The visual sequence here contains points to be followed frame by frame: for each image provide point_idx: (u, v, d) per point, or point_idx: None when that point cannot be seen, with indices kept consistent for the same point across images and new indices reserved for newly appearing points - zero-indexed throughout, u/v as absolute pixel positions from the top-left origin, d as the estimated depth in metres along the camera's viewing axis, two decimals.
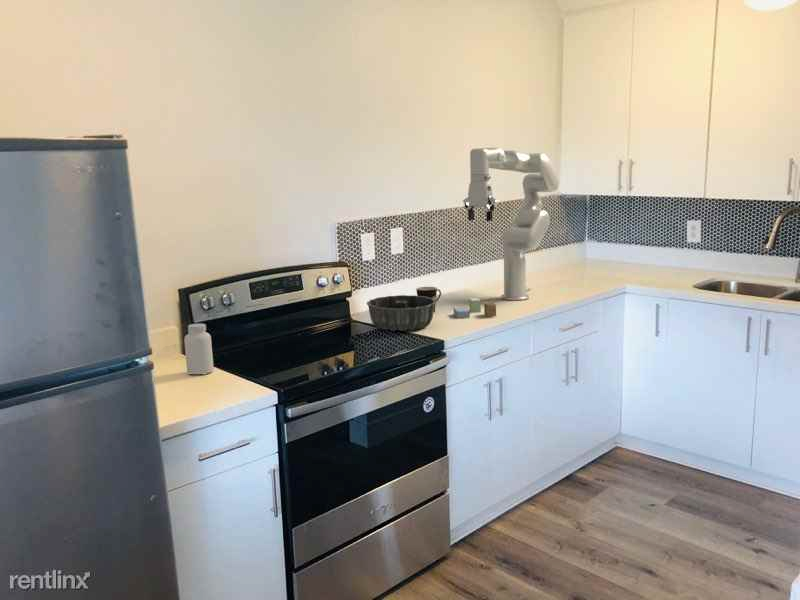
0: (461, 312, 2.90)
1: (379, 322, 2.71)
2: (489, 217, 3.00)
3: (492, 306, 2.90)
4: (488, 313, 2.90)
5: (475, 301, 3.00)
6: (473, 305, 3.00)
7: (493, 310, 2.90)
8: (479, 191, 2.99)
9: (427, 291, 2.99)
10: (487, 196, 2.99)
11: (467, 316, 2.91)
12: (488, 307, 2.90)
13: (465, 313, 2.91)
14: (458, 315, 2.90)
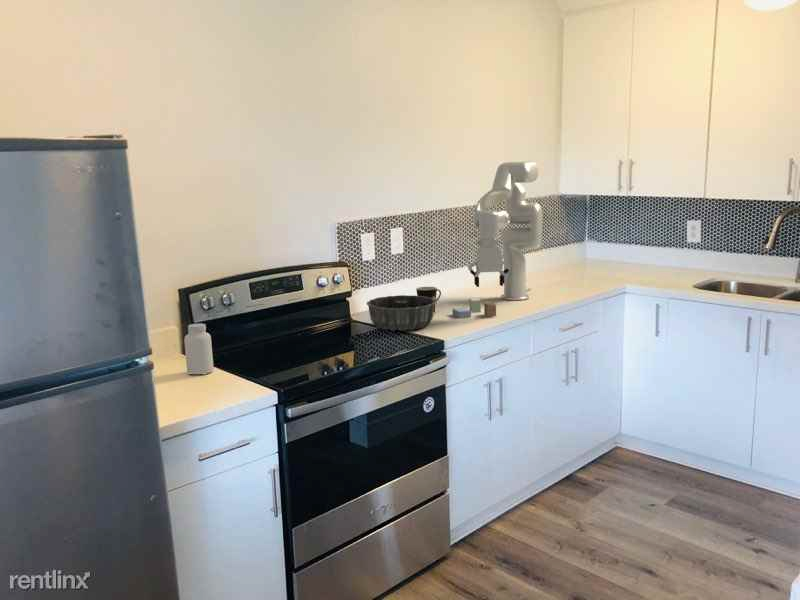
0: (463, 312, 2.90)
1: (379, 322, 2.71)
2: None
3: (492, 306, 2.90)
4: (488, 313, 2.90)
5: (475, 301, 3.00)
6: (473, 305, 3.00)
7: (493, 310, 2.90)
8: None
9: (427, 291, 2.99)
10: (476, 261, 2.90)
11: (468, 316, 2.91)
12: (488, 307, 2.90)
13: (467, 313, 2.91)
14: (460, 315, 2.90)
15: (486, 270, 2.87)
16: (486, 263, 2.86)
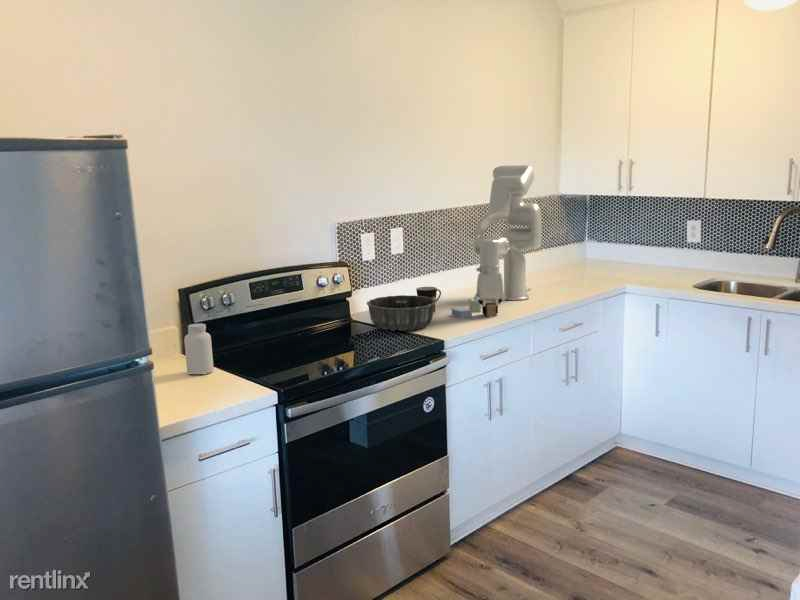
0: (464, 312, 2.90)
1: (379, 322, 2.71)
2: None
3: (492, 306, 2.90)
4: (488, 313, 2.90)
5: (475, 301, 3.00)
6: (473, 305, 3.00)
7: (493, 310, 2.90)
8: None
9: (427, 291, 2.99)
10: (477, 287, 2.92)
11: (469, 316, 2.92)
12: (488, 307, 2.90)
13: (468, 312, 2.91)
14: (461, 315, 2.90)
15: (487, 297, 2.89)
16: (487, 290, 2.89)
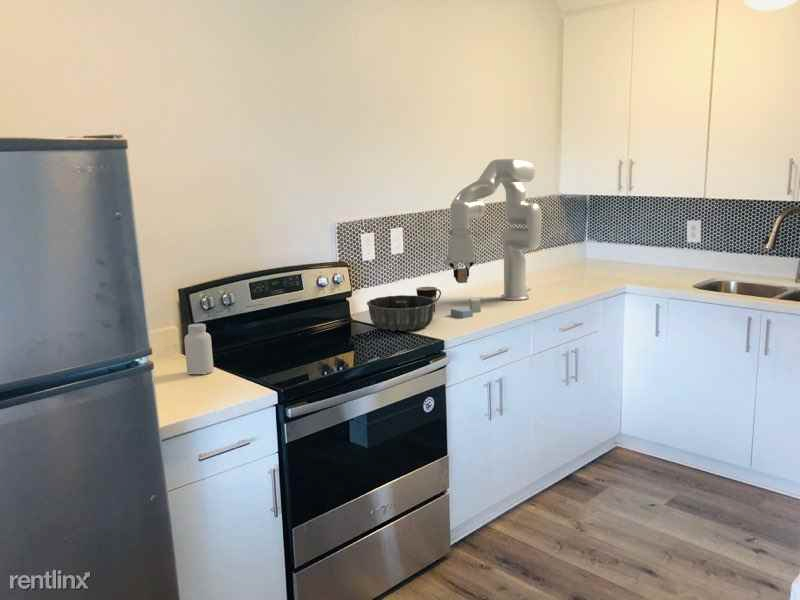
0: (466, 312, 2.91)
1: (379, 322, 2.71)
2: None
3: (463, 271, 2.88)
4: (459, 278, 2.89)
5: (475, 301, 3.00)
6: (473, 305, 3.00)
7: (464, 275, 2.89)
8: None
9: (427, 291, 2.99)
10: (448, 250, 2.91)
11: (470, 316, 2.92)
12: (459, 272, 2.88)
13: (469, 312, 2.92)
14: (463, 315, 2.90)
15: (458, 260, 2.88)
16: (457, 253, 2.87)
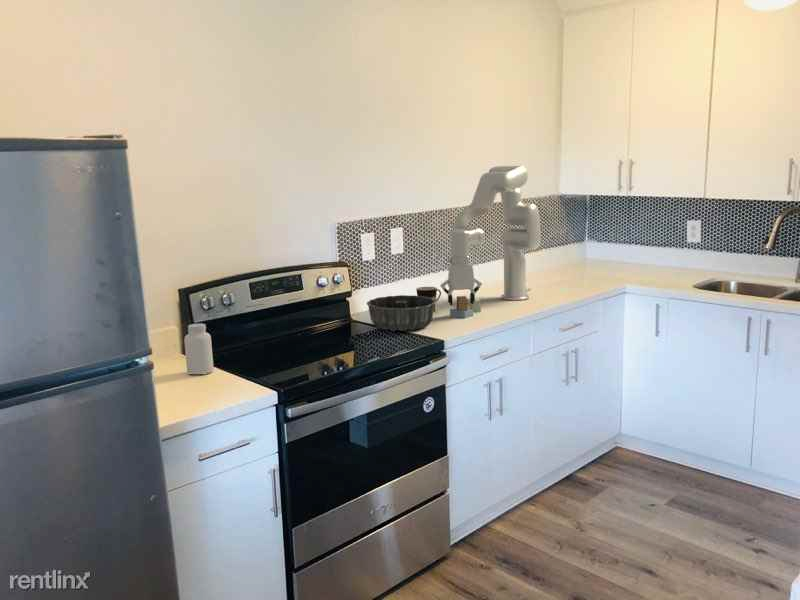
0: (467, 312, 2.91)
1: (379, 322, 2.71)
2: None
3: (464, 300, 2.91)
4: (459, 307, 2.91)
5: (475, 301, 3.00)
6: (473, 305, 3.00)
7: (465, 304, 2.91)
8: None
9: (427, 291, 2.99)
10: (448, 278, 2.93)
11: (471, 316, 2.93)
12: (460, 301, 2.91)
13: (470, 312, 2.92)
14: (465, 315, 2.90)
15: (458, 287, 2.90)
16: (457, 281, 2.89)
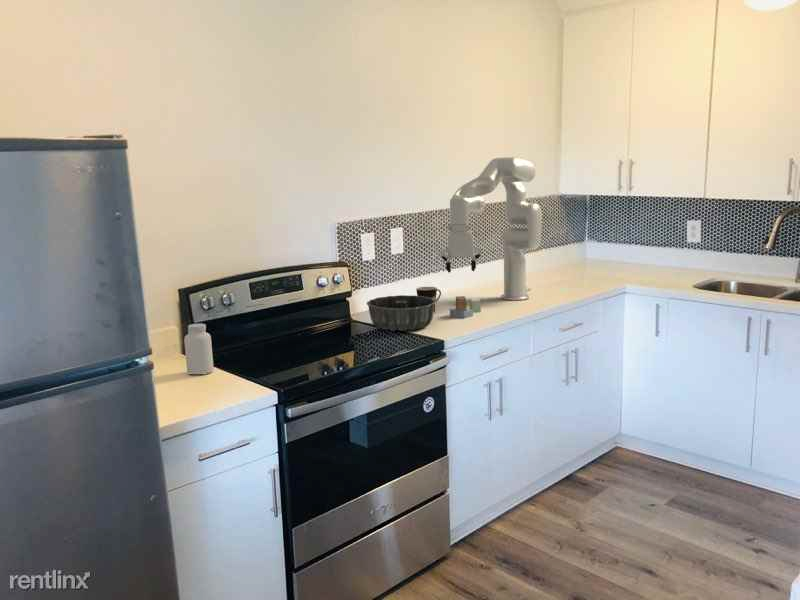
0: (467, 312, 2.91)
1: (379, 322, 2.71)
2: None
3: (462, 300, 2.90)
4: (458, 307, 2.91)
5: (475, 301, 3.00)
6: (473, 305, 3.00)
7: (463, 304, 2.91)
8: None
9: (427, 291, 2.99)
10: None
11: (471, 316, 2.93)
12: (458, 301, 2.90)
13: (470, 312, 2.92)
14: (465, 315, 2.90)
15: (457, 255, 2.87)
16: (457, 249, 2.87)
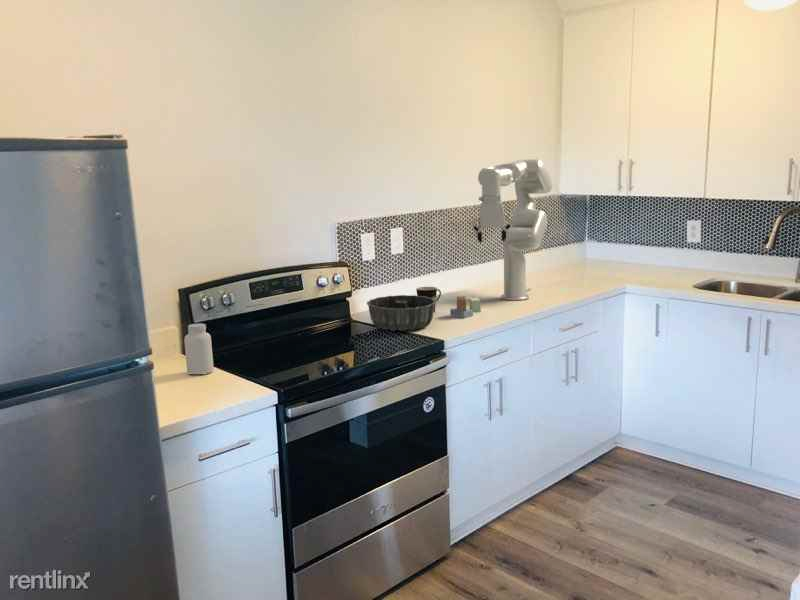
0: (467, 312, 2.91)
1: (379, 322, 2.71)
2: None
3: (462, 300, 2.90)
4: (458, 307, 2.91)
5: (475, 301, 3.00)
6: (473, 305, 3.00)
7: (463, 304, 2.91)
8: None
9: (427, 291, 2.99)
10: (479, 217, 3.01)
11: (471, 316, 2.93)
12: (458, 301, 2.90)
13: (470, 312, 2.92)
14: (465, 315, 2.90)
15: (489, 225, 2.98)
16: (488, 219, 2.97)
